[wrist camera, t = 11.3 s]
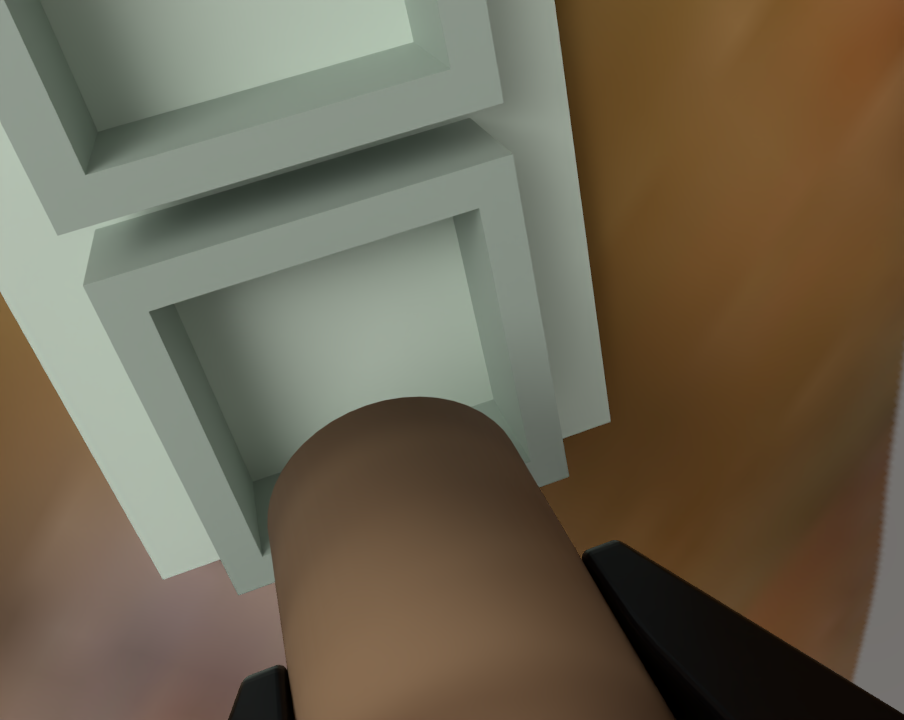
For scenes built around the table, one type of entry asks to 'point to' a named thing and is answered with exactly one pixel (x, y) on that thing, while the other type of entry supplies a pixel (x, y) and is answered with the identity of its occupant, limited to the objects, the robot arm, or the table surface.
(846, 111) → the table surface
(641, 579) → the robot arm
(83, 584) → the table surface
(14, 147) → the build board
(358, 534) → the dowel
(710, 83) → the table surface
